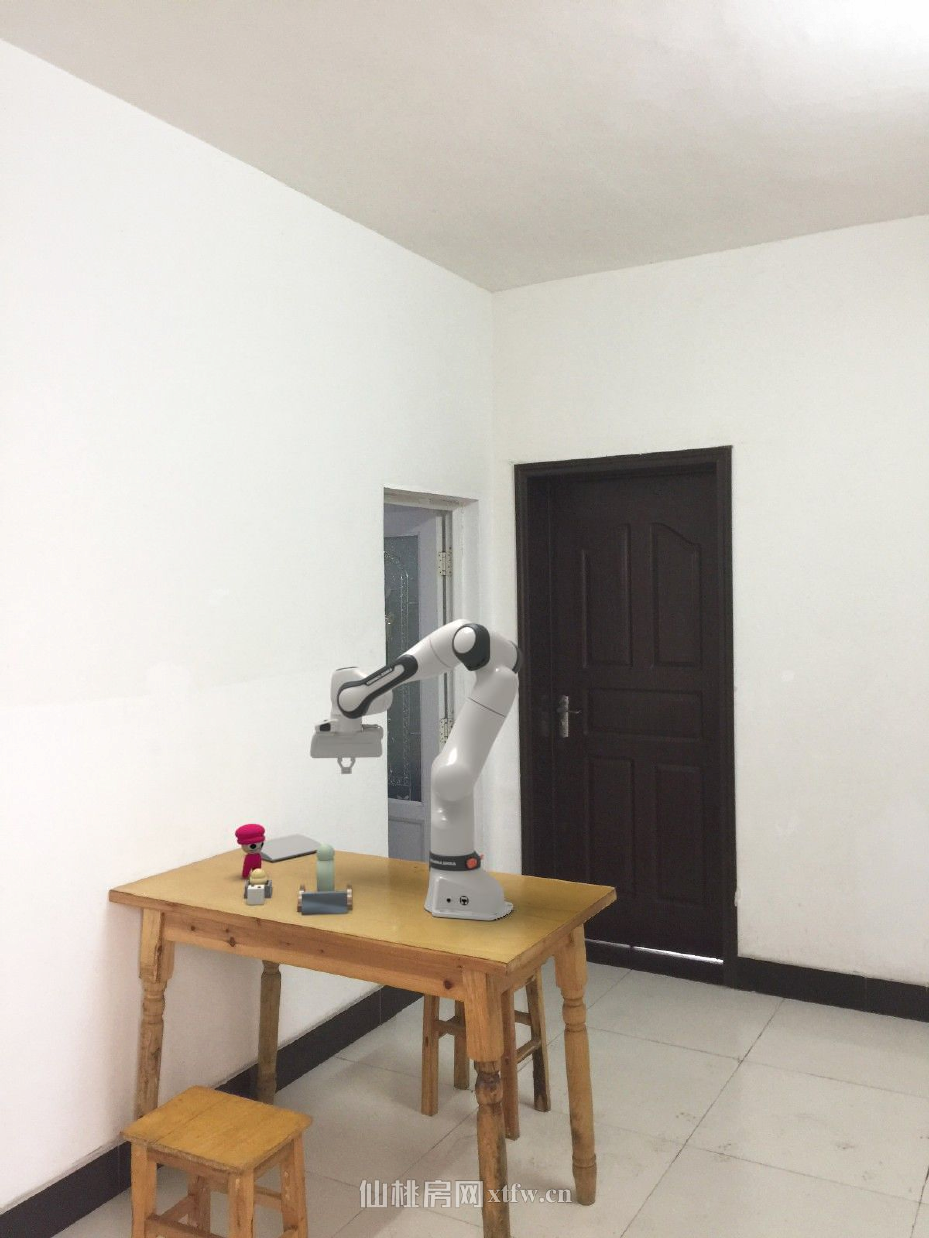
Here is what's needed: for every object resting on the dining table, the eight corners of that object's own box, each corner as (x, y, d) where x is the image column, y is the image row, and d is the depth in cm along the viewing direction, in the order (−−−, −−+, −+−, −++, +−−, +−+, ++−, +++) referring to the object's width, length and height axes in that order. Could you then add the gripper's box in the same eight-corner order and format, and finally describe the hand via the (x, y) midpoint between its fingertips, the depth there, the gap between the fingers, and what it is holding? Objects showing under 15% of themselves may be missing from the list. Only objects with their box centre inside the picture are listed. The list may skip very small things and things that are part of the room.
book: (237, 857, 321) (237, 844, 321) (296, 844, 338) (296, 832, 338) (269, 865, 311) (269, 852, 311) (328, 852, 328) (328, 839, 328)
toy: (250, 882, 289) (250, 828, 289) (228, 878, 294) (228, 824, 294) (272, 876, 296) (271, 823, 296) (250, 871, 301) (250, 819, 301)
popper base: (272, 890, 282) (272, 879, 282) (270, 897, 275) (270, 886, 275) (246, 891, 281) (246, 880, 281) (243, 898, 274) (243, 886, 274)
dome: (267, 882, 280) (267, 866, 280) (266, 886, 276) (266, 870, 276) (250, 882, 280) (250, 866, 280) (249, 887, 275) (249, 871, 275)
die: (264, 899, 272) (264, 882, 272) (263, 904, 268) (263, 886, 268) (248, 900, 272) (248, 883, 272) (247, 904, 268) (247, 887, 268)
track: (300, 889, 283) (300, 870, 283) (351, 887, 285) (351, 869, 284) (296, 914, 260) (296, 894, 260) (352, 912, 261) (352, 892, 261)
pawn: (338, 891, 280) (338, 843, 280) (328, 896, 276) (328, 846, 276) (322, 889, 282) (322, 841, 282) (312, 894, 278) (312, 845, 278)
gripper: (383, 722, 300) (383, 771, 300) (310, 723, 297) (310, 772, 297) (383, 725, 293) (383, 774, 294) (309, 726, 291) (309, 775, 291)
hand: (346, 773), depth 295 cm, fingers closed
